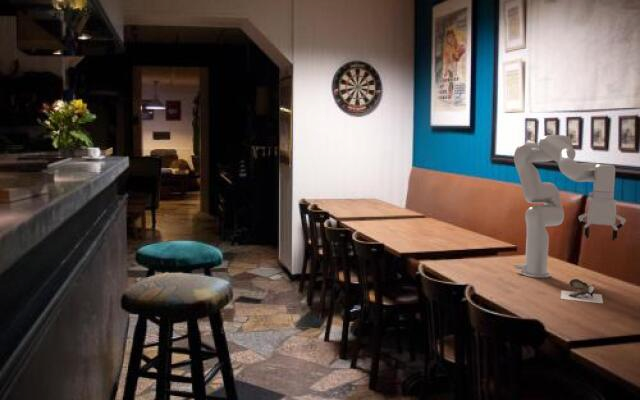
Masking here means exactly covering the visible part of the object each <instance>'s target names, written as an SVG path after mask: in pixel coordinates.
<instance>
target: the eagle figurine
mask: <svg viewBox="0 0 640 400" xmlns="http://www.w3.org/2000/svg"><path fill="white" fill-rule="evenodd" d="M569 285H570V287H573V288H575V289H578V290H576V291H573V292H574V293H573V294H570V295H569V296H571V297H575V296H578V295H585V294H586V293H587V294H589V295H591V297H592V298H593V294H595V292H594V290H596V287H595V285H594V284H592V285H590V286H589V285H588V283H587V282H584V281H582V280H580V279H577V278H574V279H571V280H570V281H569Z"/></svg>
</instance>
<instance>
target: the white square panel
mask: <svg viewBox="0 0 640 400" xmlns="http://www.w3.org/2000/svg"><path fill="white" fill-rule="evenodd" d="M574 292H575V291H572V290H563V289H562V290H561V291H560V299H561V300H567V301H568V300H569V301H577V302H586V303H596V304H604V301H603V295H602V294H600V293H593V298H592V297H591V295H589V294H587V293H586V294H585V295H578V296H575V297H571V296H569V295H570V294H573V293H574Z"/></svg>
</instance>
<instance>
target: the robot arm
mask: <svg viewBox="0 0 640 400" xmlns="http://www.w3.org/2000/svg"><path fill="white" fill-rule="evenodd" d="M575 158H576V150H575V149H574V147H573V141H572V140H571V138H570V137H569V136H568V135H563V134H548V135H544V136H542V137H541V139H540V140H539V142H538V143H537V142H525V143H522V144H520V145H518V146H517V147H516V149H515V151H514V154H513V162H514V166H515V168H516V171H517V173H518V176H519V181H520V185H521V189H522V193H523V197H524V199H525V202H527V203H528V204H536V205H532V206H530V207H528V209H526V211H525V213H524V214H525V216H524V219H525V225H526V238H525V239H526V240H525V255H524V256H525V257H524V260H525V261H524V263H522V264H518V263H514V269H517V270H521V271H520V274H521V275H523V276H525V277H529V278H540V279H541V278H542V279H544V278H549V277H551V273H550V271H548V261H549V260H548V259H549V256H548V255H549V246H550V245H549V243H550V242H549V241H550V237H549V233H548V230H547V228H546V227H556V226H560V225H561V224H562V223H563V222H564V220H565V211H564V207H563V202H562V199H561V196H560V192H559V188H558V187H557V186H556V185H555V183H553V182H546V181H544V182H542V180H541V177H540V173H539V171H538V169H537V168H536V166H534V164H533V162H534V163H539V162H540V163H544V162H551V161H555V162H556V163H557V164H558V168H559V171H560V173H561V174H563V175H564V176H565V177H566V178H568V180H571V181H573V182H575V183H583V182H585V183H586V182H588V183H593V188H592V191H590V192H588V196H591V197H592V198H590V200H589V203H588V209H587V212H586V213H583V214H580V215H579V216H578V220H579V222H580V225H582V226H583V227H584V236H585V238H586V239H588V238H589V237H590V230H591V229H590V226H591V225H599V226H611V227H612V228H613V229H612V241H616V239H618V231H619V229H621V228H622V227H623V226H624V225H625V223H626V221H627V219H626V218H624V217H622V216H621V215H618V214H617V202H616V199H614V197H615V182H616V180H615V179H616V167H615V165H613V164H603V163H601V164H600V163H597V162H577V161H575ZM537 204H540V205H537ZM586 217H587V219H586V220H587V222H586V221H585V220H584V218H586ZM617 220H619V221H620V223H619V224H618V225H617V223H616V222H617Z"/></svg>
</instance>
